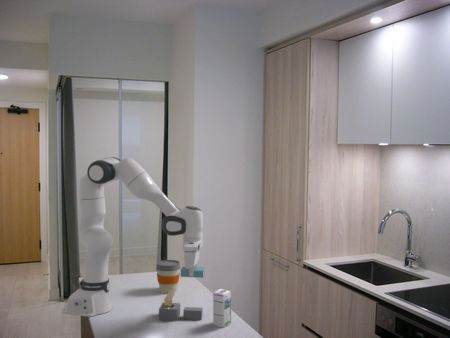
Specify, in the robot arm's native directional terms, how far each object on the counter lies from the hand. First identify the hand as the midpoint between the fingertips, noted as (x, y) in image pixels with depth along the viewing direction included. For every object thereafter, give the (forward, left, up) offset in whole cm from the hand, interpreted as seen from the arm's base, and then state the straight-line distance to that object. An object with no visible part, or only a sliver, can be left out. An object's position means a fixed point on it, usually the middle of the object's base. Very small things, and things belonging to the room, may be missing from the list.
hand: (192, 273), depth 202 cm
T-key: (-10, 0, -20) cm, 22 cm away
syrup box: (+14, -6, -20) cm, 25 cm away
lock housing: (-5, 0, -20) cm, 21 cm away
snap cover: (0, 0, -1) cm, 1 cm away
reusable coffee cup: (-18, +36, -20) cm, 45 cm away
